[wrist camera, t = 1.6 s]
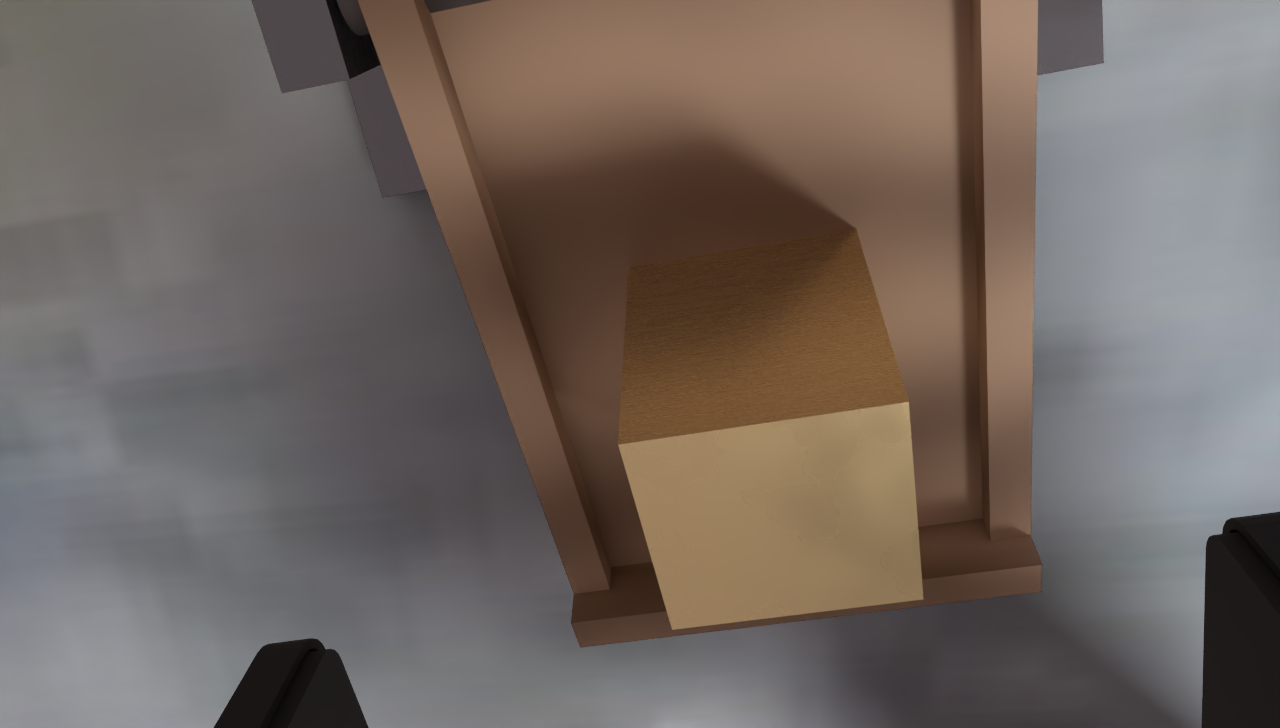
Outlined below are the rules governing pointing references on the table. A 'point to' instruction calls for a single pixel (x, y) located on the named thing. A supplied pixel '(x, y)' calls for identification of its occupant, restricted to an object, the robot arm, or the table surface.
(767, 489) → the rider
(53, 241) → the table surface
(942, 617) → the table surface
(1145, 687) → the table surface
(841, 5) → the beam
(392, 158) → the beam stand
